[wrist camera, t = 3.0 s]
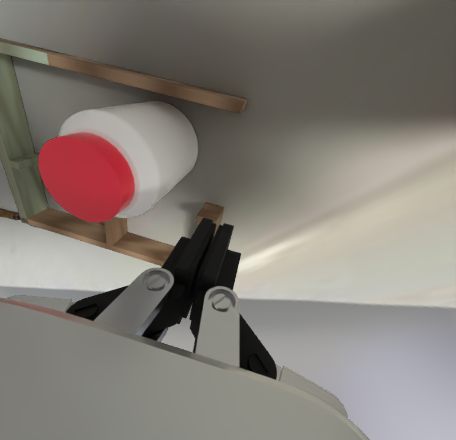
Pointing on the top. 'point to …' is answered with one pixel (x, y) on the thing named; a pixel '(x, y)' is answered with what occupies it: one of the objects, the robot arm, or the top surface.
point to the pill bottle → (118, 159)
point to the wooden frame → (28, 160)
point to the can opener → (10, 215)
